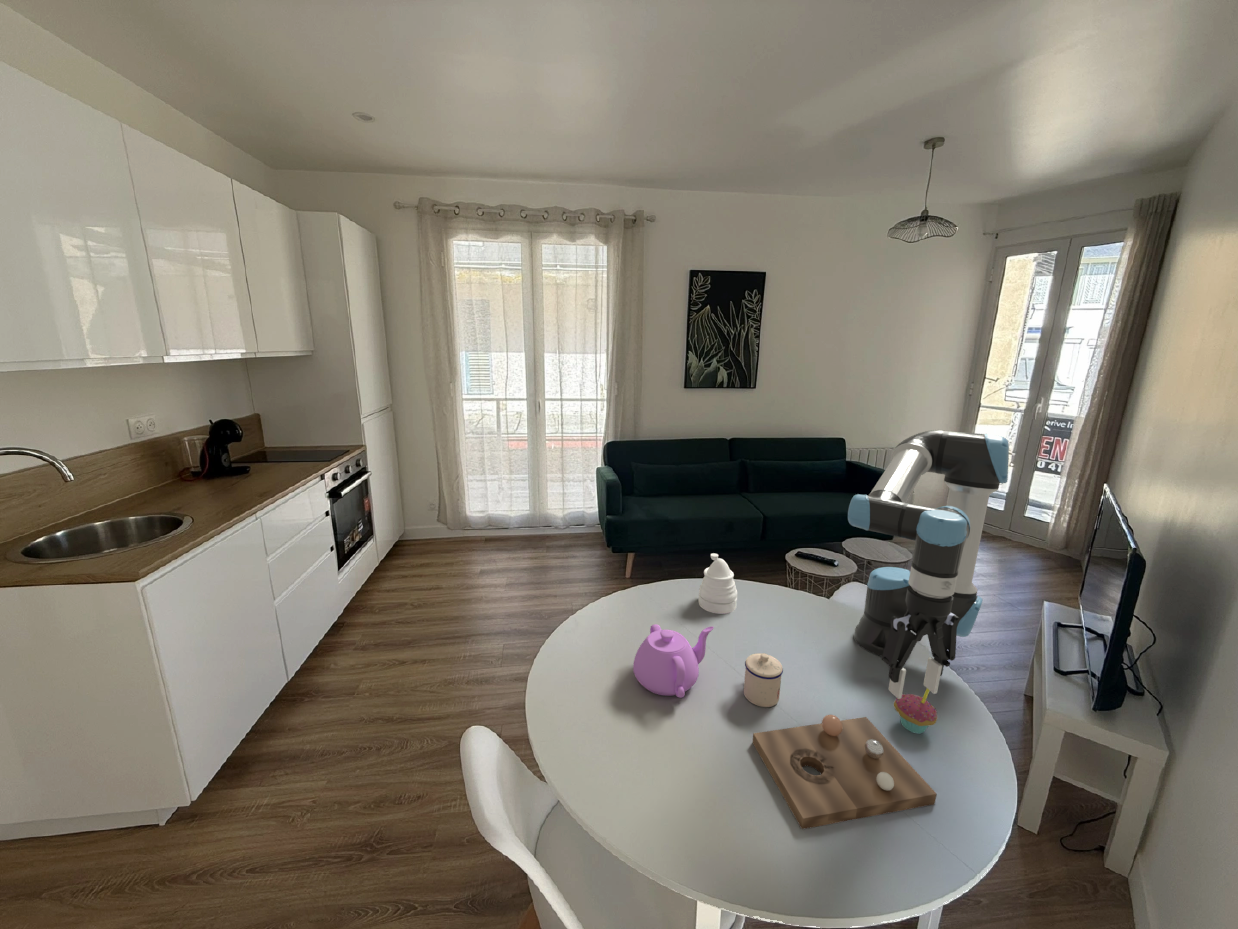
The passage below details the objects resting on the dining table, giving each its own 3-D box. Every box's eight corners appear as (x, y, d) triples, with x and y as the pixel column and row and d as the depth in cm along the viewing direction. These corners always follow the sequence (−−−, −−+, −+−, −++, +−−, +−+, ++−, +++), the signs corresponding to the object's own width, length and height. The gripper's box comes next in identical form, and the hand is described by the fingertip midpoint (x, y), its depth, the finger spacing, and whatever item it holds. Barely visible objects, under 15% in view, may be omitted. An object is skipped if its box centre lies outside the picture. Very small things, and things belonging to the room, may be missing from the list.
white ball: (885, 779, 94) (887, 767, 94) (896, 793, 91) (898, 780, 91) (871, 782, 94) (873, 769, 93) (882, 795, 91) (884, 782, 90)
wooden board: (864, 726, 111) (866, 717, 110) (934, 804, 92) (936, 794, 91) (752, 742, 106) (753, 733, 105) (801, 829, 87) (803, 818, 86)
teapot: (730, 697, 120) (734, 649, 116) (649, 715, 114) (650, 665, 110) (693, 646, 140) (695, 604, 137) (622, 659, 134) (623, 615, 131)
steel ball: (874, 748, 102) (876, 734, 101) (886, 761, 98) (888, 747, 98) (859, 750, 101) (862, 736, 100) (871, 764, 98) (873, 749, 97)
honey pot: (698, 611, 159) (700, 562, 155) (698, 593, 171) (700, 546, 167) (737, 615, 157) (741, 565, 153) (735, 596, 169) (738, 549, 165)
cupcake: (928, 718, 114) (937, 674, 111) (939, 745, 106) (948, 698, 103) (888, 709, 116) (895, 666, 114) (895, 734, 109) (903, 689, 106)
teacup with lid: (786, 707, 117) (790, 666, 114) (749, 709, 116) (753, 668, 113) (767, 675, 128) (770, 636, 125) (734, 677, 127) (737, 638, 125)
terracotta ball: (833, 725, 108) (835, 709, 107) (845, 739, 104) (847, 723, 103) (816, 727, 107) (818, 711, 106) (828, 742, 103) (830, 725, 102)
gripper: (898, 604, 87) (881, 711, 92) (993, 595, 91) (971, 698, 96) (870, 585, 94) (855, 685, 99) (958, 577, 98) (940, 674, 103)
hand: (912, 691), depth 98 cm, fingers open, 8 cm apart
